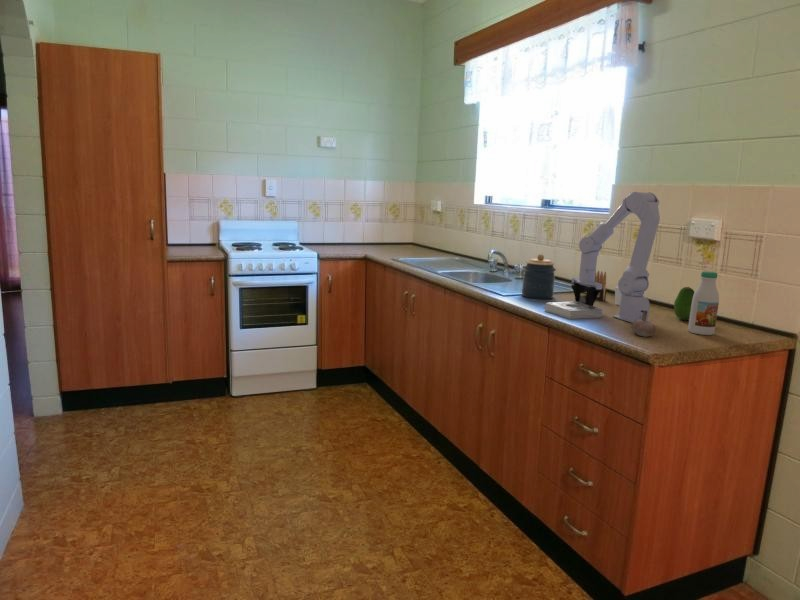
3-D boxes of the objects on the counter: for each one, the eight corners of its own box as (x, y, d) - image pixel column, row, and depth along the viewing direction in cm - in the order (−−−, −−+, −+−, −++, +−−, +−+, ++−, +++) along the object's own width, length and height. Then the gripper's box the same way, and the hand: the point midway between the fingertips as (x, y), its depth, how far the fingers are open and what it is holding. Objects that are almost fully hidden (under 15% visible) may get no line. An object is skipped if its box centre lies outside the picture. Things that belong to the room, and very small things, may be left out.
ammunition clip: (605, 301, 241) (608, 272, 238) (602, 301, 240) (605, 272, 238) (585, 296, 250) (588, 268, 248) (582, 296, 249) (585, 268, 247)
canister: (535, 292, 253) (538, 251, 250) (559, 298, 243) (563, 255, 240) (514, 295, 245) (518, 253, 242) (539, 300, 235) (543, 256, 232)
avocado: (667, 318, 211) (672, 285, 209) (680, 316, 216) (684, 284, 213) (688, 323, 205) (693, 289, 202) (701, 321, 209) (706, 288, 207)
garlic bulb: (636, 331, 191) (639, 306, 189) (659, 335, 186) (662, 310, 184) (626, 334, 185) (629, 309, 184) (649, 339, 180) (653, 314, 179)
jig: (601, 317, 209) (602, 308, 208) (570, 319, 203) (570, 310, 203) (575, 309, 221) (576, 301, 221) (544, 310, 216) (545, 302, 215)
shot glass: (633, 306, 230) (635, 289, 229) (614, 305, 232) (616, 288, 230) (629, 303, 237) (632, 286, 236) (612, 302, 238) (614, 285, 237)
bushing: (591, 309, 222) (593, 293, 221) (583, 310, 220) (584, 294, 219) (584, 307, 226) (586, 291, 224) (576, 307, 224) (577, 292, 223)
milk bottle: (684, 332, 191) (692, 271, 188) (692, 328, 197) (701, 269, 193) (709, 337, 186) (718, 274, 182) (717, 333, 191) (726, 272, 188)
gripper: (566, 266, 225) (563, 301, 228) (592, 272, 212) (588, 309, 215) (581, 266, 228) (577, 300, 230) (608, 272, 215) (604, 308, 217)
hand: (584, 304), depth 223 cm, fingers open, 6 cm apart
